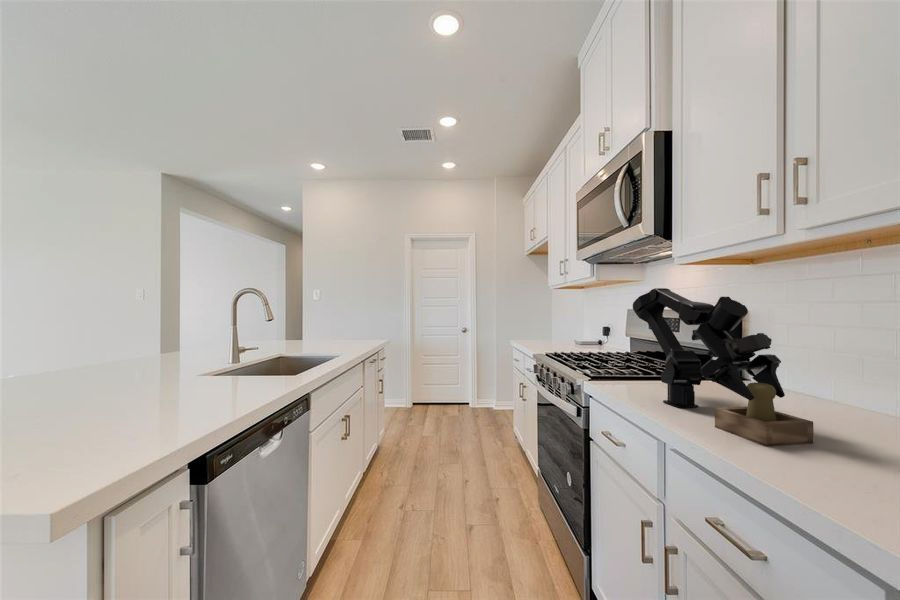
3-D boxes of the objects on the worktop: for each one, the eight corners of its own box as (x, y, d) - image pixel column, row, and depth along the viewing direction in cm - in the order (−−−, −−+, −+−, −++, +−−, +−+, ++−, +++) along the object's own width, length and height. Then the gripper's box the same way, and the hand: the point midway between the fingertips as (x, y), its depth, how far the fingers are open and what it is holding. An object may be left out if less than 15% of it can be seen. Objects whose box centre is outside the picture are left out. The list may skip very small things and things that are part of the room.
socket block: (714, 427, 87) (714, 408, 87) (756, 424, 90) (756, 405, 90) (766, 446, 76) (766, 424, 76) (813, 442, 78) (813, 421, 78)
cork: (759, 436, 80) (759, 386, 80) (737, 427, 86) (736, 380, 86) (786, 436, 80) (786, 386, 80) (762, 427, 86) (762, 380, 86)
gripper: (712, 321, 84) (764, 379, 73) (771, 321, 89) (829, 375, 78) (682, 351, 92) (725, 408, 81) (738, 349, 97) (787, 402, 86)
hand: (767, 398), depth 81 cm, fingers open, 9 cm apart
